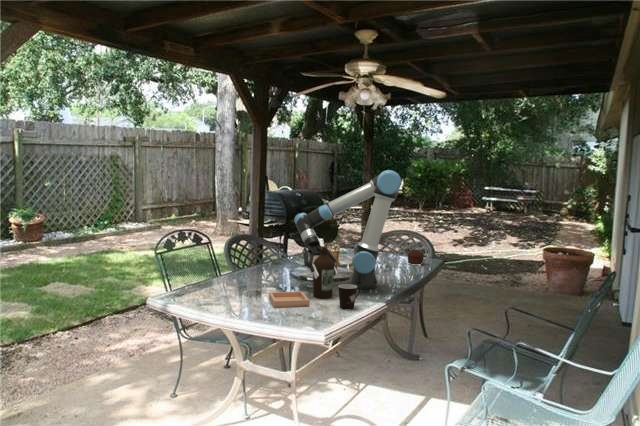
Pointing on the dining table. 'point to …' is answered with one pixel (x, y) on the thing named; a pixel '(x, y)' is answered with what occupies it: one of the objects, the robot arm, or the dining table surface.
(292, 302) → the bin
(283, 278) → the dining table surface
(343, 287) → the coffee mug
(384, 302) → the dining table surface
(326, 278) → the olive oil
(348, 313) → the dining table surface
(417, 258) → the muffin
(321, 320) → the dining table surface
